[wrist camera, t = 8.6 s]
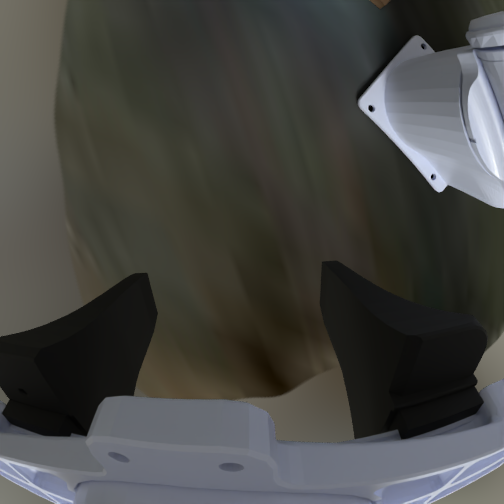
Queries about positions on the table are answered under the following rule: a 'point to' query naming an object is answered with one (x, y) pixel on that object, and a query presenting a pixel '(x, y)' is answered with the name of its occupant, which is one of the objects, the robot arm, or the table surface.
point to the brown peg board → (380, 3)
